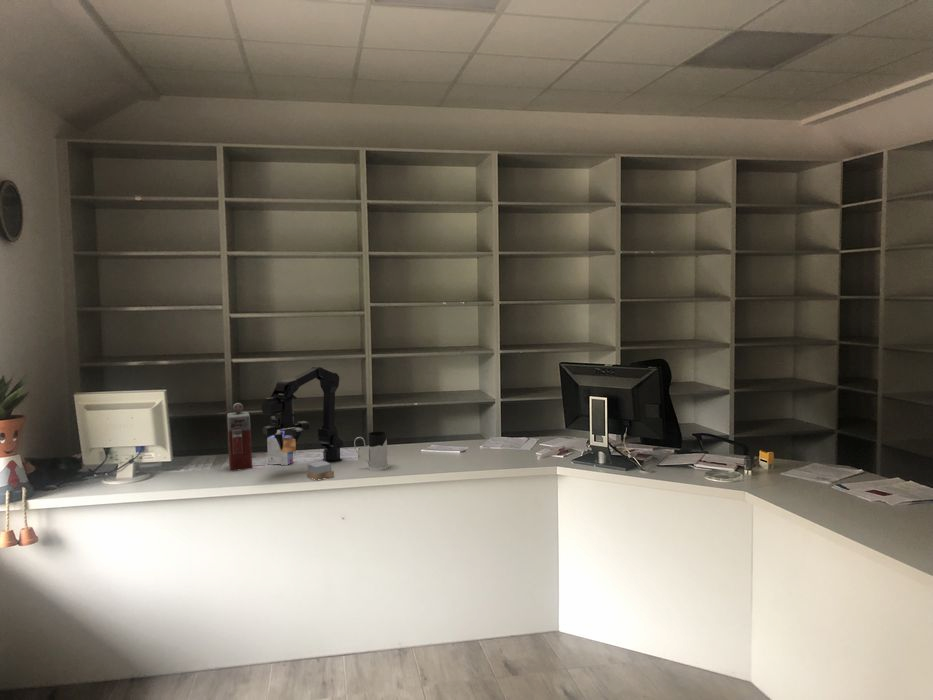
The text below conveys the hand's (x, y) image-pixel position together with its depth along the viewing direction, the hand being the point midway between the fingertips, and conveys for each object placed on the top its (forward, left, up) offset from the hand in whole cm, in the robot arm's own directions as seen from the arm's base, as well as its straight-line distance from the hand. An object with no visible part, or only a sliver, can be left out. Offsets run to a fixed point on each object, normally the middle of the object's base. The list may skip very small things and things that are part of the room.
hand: (287, 448), depth 279 cm
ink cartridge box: (-4, -18, -11) cm, 21 cm away
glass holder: (-31, +15, -11) cm, 36 cm away
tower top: (-8, +13, -8) cm, 17 cm away
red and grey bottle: (+12, -23, -11) cm, 28 cm away
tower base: (-8, +13, -11) cm, 19 cm away
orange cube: (0, 0, -1) cm, 1 cm away
